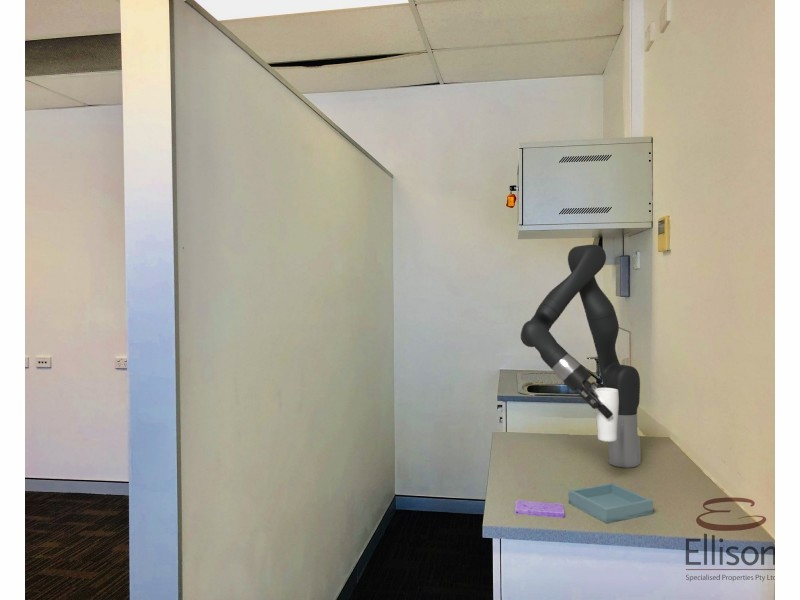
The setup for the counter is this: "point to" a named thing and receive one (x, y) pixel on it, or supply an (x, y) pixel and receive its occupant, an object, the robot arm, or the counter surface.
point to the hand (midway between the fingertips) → (612, 413)
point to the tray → (610, 502)
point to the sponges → (539, 508)
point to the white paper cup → (609, 426)
